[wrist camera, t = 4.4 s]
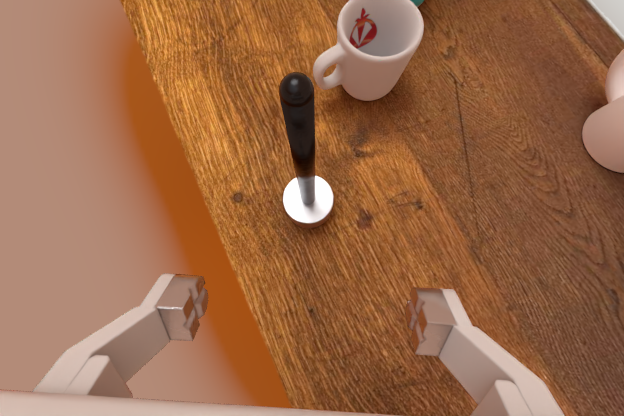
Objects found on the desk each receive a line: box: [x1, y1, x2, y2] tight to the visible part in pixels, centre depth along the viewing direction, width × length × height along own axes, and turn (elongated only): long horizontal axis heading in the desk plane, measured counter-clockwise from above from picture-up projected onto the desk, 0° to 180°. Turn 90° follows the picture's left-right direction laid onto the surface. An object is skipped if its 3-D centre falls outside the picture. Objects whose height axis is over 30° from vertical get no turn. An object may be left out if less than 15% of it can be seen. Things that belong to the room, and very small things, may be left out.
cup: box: [313, 0, 424, 101], centre depth 30 cm, size 11×8×8 cm
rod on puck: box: [279, 72, 334, 228], centre depth 21 cm, size 5×5×20 cm
